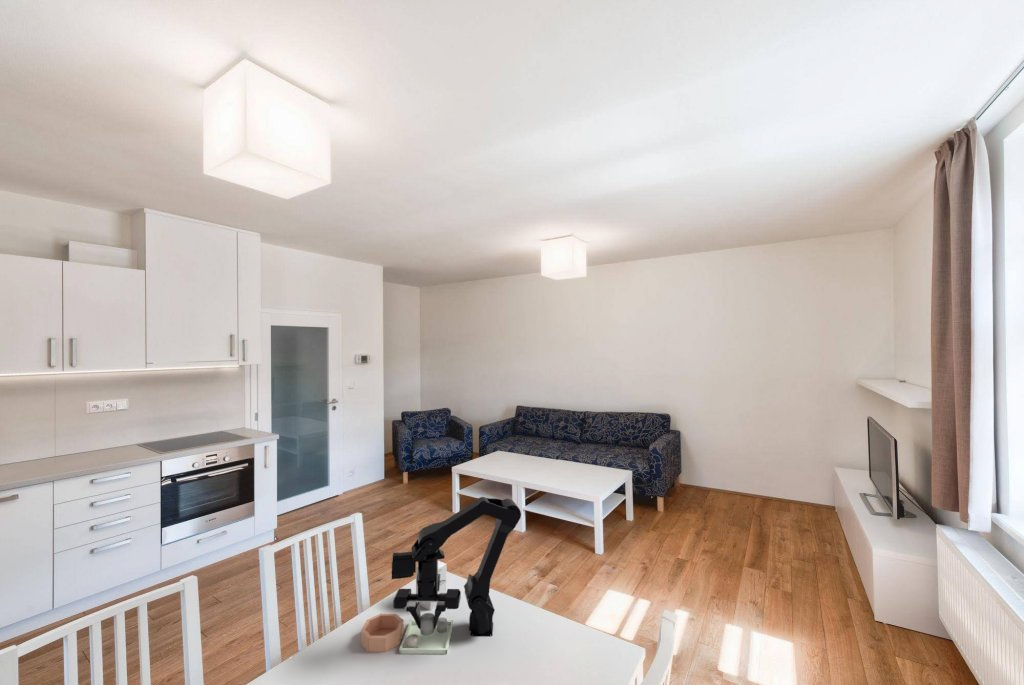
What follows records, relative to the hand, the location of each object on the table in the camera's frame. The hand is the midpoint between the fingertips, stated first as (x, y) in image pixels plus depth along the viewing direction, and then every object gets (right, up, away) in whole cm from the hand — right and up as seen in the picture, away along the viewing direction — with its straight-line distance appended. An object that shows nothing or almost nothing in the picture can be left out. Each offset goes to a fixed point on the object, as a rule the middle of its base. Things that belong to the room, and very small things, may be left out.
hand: (427, 628), depth 124 cm
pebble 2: (+4, -3, +4) cm, 6 cm away
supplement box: (-2, -4, +18) cm, 19 cm away
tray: (0, -3, 0) cm, 3 cm away
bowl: (-13, -3, 0) cm, 13 cm away
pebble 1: (-3, -3, -4) cm, 6 cm away
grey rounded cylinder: (0, -1, 0) cm, 1 cm away
